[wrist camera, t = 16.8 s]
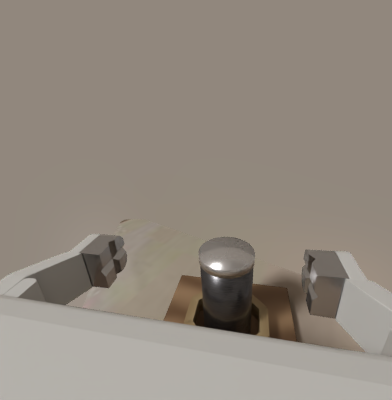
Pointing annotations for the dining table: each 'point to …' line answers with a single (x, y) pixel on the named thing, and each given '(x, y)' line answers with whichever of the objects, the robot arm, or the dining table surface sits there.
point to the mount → (260, 313)
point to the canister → (227, 283)
